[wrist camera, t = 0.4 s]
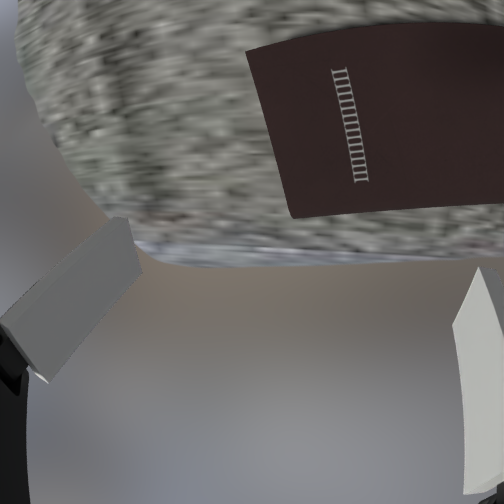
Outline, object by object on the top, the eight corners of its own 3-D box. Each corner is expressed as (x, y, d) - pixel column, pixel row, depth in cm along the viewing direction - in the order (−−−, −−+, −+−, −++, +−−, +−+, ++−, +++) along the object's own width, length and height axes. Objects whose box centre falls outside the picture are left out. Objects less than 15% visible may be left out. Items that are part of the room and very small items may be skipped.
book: (302, 203, 40) (292, 225, 35) (262, 53, 30) (245, 51, 26) (509, 188, 28) (528, 209, 24) (495, 31, 19) (516, 28, 15)
